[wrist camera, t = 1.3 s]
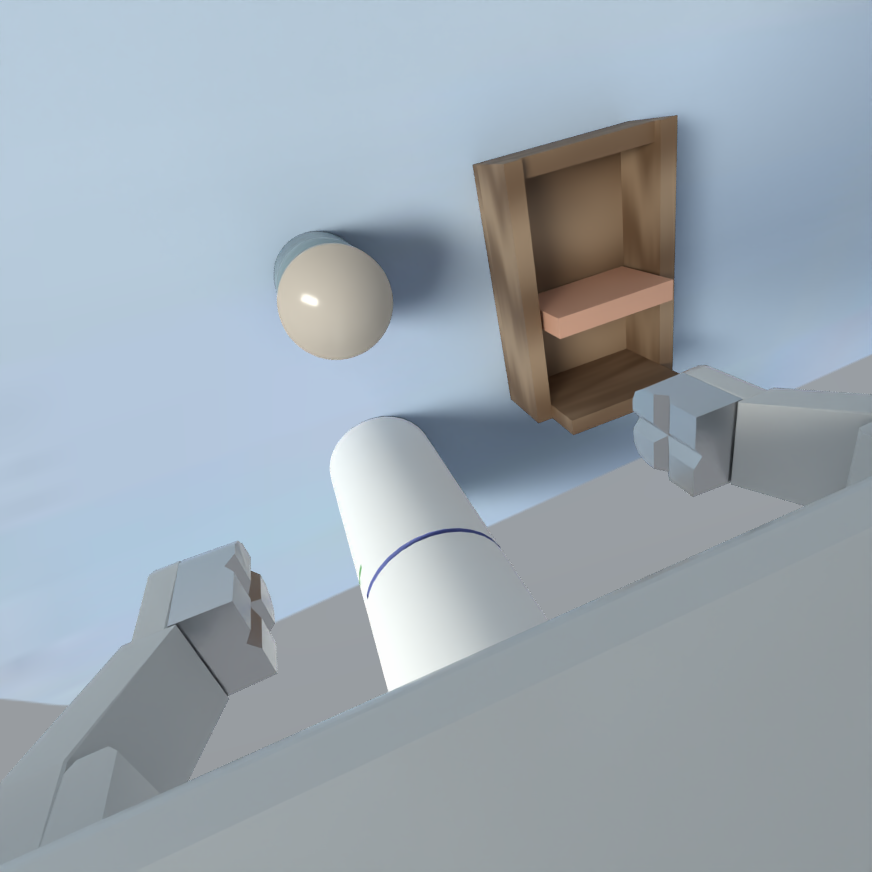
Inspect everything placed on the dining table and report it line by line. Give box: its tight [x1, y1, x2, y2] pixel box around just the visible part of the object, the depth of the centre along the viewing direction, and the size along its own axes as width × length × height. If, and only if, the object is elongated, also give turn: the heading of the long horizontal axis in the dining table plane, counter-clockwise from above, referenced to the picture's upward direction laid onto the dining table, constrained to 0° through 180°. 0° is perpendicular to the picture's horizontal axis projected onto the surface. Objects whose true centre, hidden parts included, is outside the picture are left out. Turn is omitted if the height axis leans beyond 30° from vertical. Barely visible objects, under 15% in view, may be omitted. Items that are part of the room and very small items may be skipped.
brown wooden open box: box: [473, 115, 679, 435], centre depth 31 cm, size 15×10×7 cm, turn 13°
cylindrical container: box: [330, 417, 548, 692], centre depth 25 cm, size 7×7×25 cm
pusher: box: [538, 266, 673, 339], centre depth 31 cm, size 1×7×5 cm, turn 103°
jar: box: [274, 231, 393, 360], centre depth 26 cm, size 5×5×6 cm
